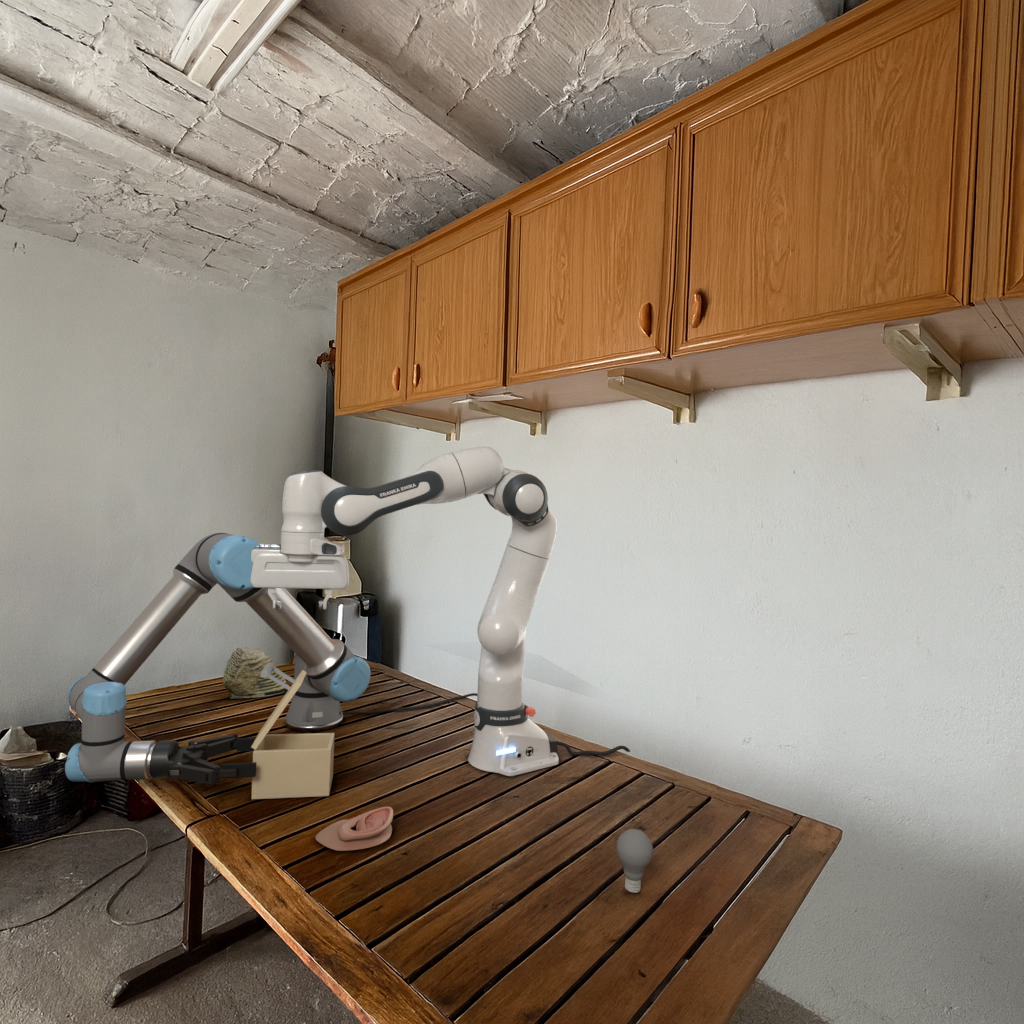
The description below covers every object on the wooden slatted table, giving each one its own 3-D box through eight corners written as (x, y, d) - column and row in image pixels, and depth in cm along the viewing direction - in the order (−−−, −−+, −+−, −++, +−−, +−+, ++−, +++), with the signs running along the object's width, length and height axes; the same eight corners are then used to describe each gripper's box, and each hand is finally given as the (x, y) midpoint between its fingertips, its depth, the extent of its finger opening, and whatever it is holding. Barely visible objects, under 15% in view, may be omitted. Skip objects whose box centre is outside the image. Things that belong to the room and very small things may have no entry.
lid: (306, 672, 142) (274, 652, 141) (301, 684, 133) (266, 664, 131) (264, 733, 141) (231, 713, 139) (255, 750, 131) (220, 729, 130)
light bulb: (610, 879, 108) (613, 822, 108) (644, 879, 109) (647, 822, 109) (619, 902, 102) (622, 840, 102) (655, 901, 103) (658, 840, 103)
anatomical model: (307, 824, 115) (337, 795, 126) (306, 846, 115) (336, 815, 126) (376, 835, 112) (400, 805, 123) (375, 857, 112) (399, 825, 123)
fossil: (218, 695, 195) (220, 647, 195) (278, 685, 208) (279, 640, 207) (228, 703, 189) (230, 653, 188) (289, 692, 201) (290, 645, 201)
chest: (332, 776, 144) (334, 732, 144) (329, 795, 134) (330, 749, 134) (260, 779, 141) (262, 734, 140) (251, 799, 131) (253, 751, 131)
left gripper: (173, 753, 144) (271, 750, 148) (130, 806, 120) (249, 800, 124) (174, 720, 144) (272, 718, 148) (131, 767, 119) (250, 762, 124)
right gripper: (248, 544, 131) (245, 611, 132) (349, 547, 135) (346, 612, 136) (254, 542, 138) (252, 605, 138) (351, 545, 142) (348, 606, 142)
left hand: (262, 756), depth 136 cm, fingers open, 13 cm apart
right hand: (299, 608), depth 137 cm, fingers open, 8 cm apart
